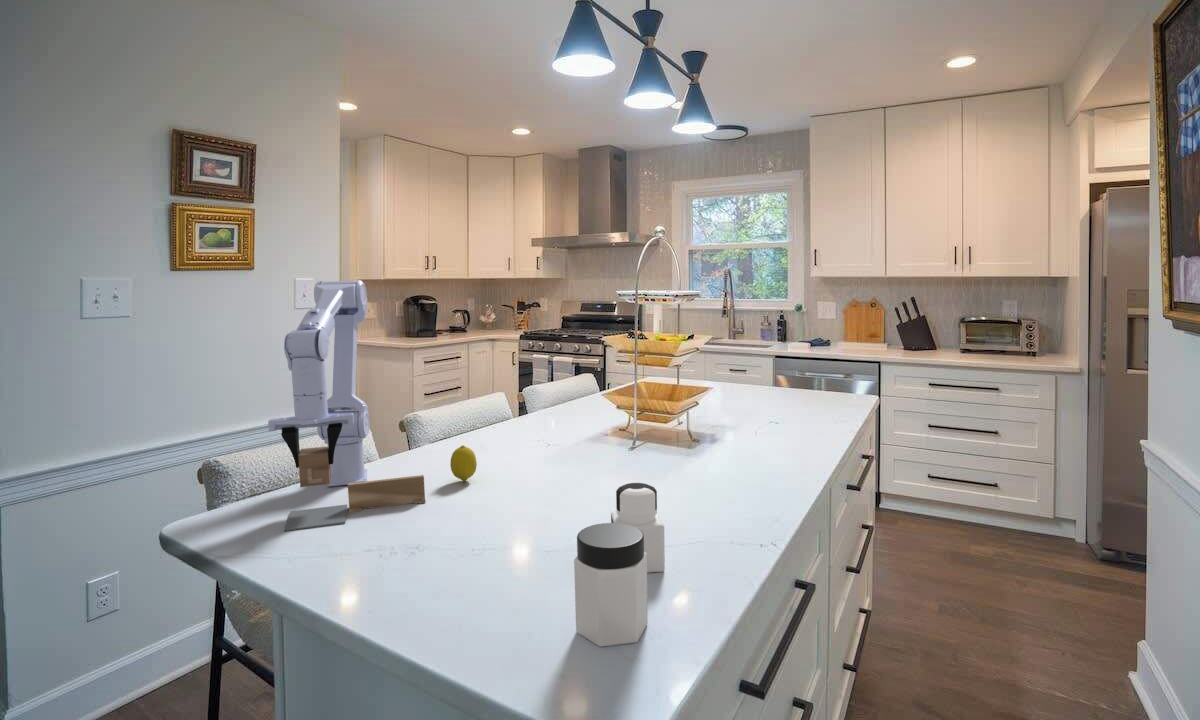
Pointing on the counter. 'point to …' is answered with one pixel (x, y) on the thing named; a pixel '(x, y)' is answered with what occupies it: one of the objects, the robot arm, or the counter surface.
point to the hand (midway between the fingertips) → (315, 464)
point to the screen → (386, 492)
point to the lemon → (463, 463)
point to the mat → (316, 517)
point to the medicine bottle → (642, 520)
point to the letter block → (314, 466)
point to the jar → (611, 584)
